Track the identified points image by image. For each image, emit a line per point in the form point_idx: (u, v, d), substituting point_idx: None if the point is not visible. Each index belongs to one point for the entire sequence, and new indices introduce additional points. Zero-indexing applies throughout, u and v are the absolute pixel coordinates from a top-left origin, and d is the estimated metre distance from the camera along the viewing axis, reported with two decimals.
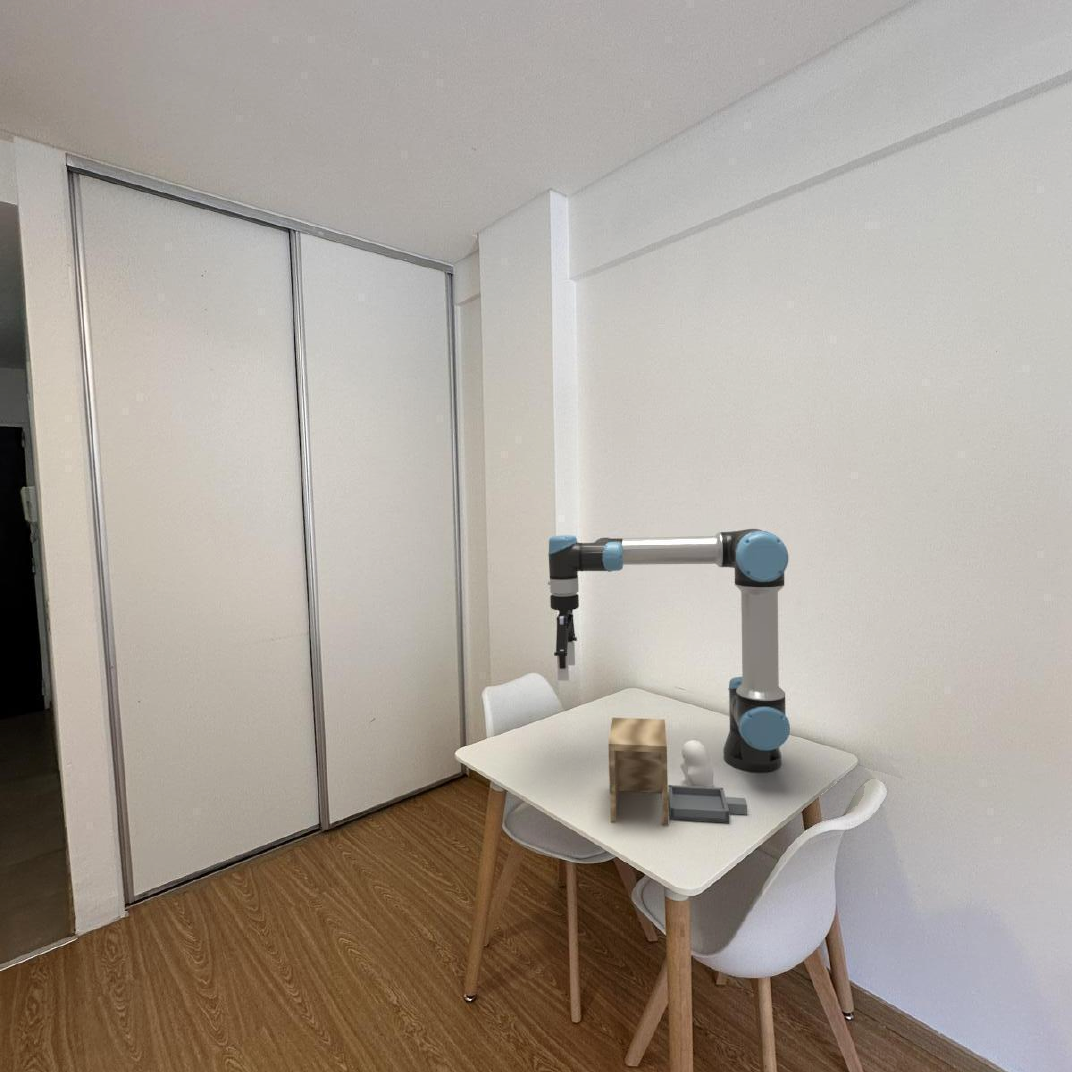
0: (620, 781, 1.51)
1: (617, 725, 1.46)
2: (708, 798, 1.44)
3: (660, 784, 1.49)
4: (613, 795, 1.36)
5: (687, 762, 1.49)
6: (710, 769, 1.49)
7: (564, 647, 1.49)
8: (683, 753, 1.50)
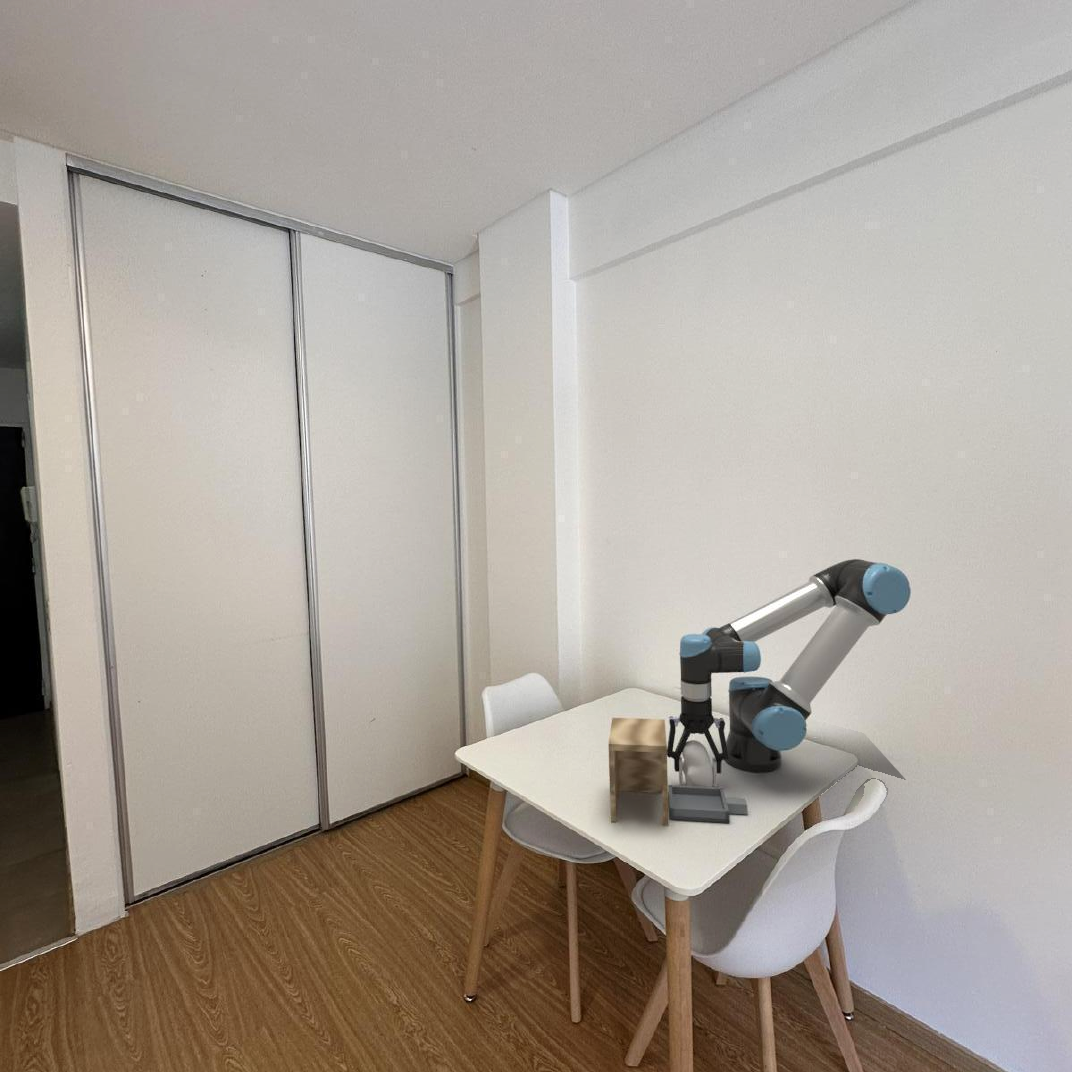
0: (620, 781, 1.51)
1: (617, 725, 1.46)
2: (708, 798, 1.44)
3: (660, 784, 1.49)
4: (613, 795, 1.36)
5: (687, 762, 1.49)
6: (710, 769, 1.49)
7: (667, 749, 1.51)
8: (683, 753, 1.50)
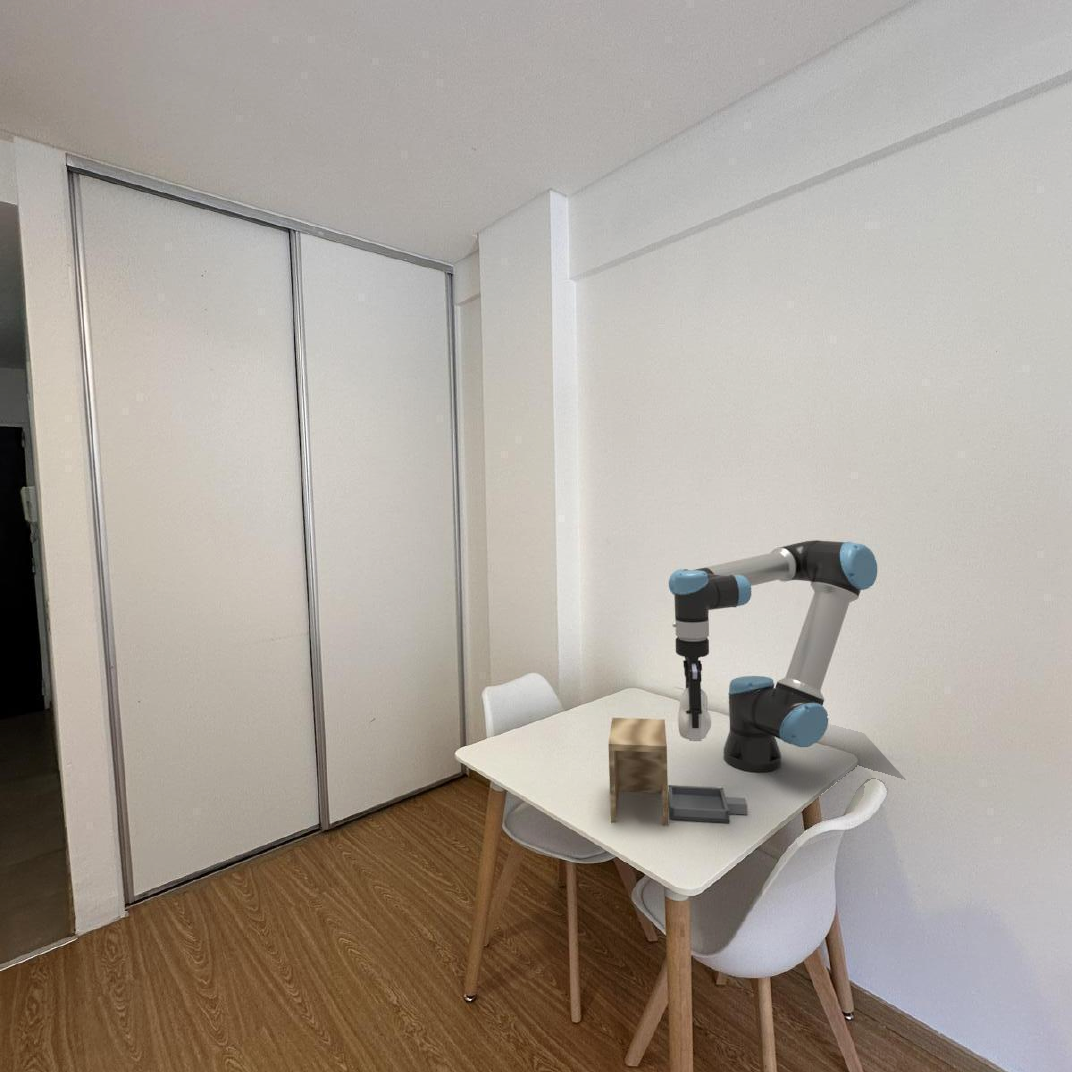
0: (620, 781, 1.51)
1: (617, 725, 1.46)
2: (708, 798, 1.44)
3: (660, 784, 1.49)
4: (613, 795, 1.36)
5: (703, 709, 1.36)
6: None
7: (700, 706, 1.32)
8: None
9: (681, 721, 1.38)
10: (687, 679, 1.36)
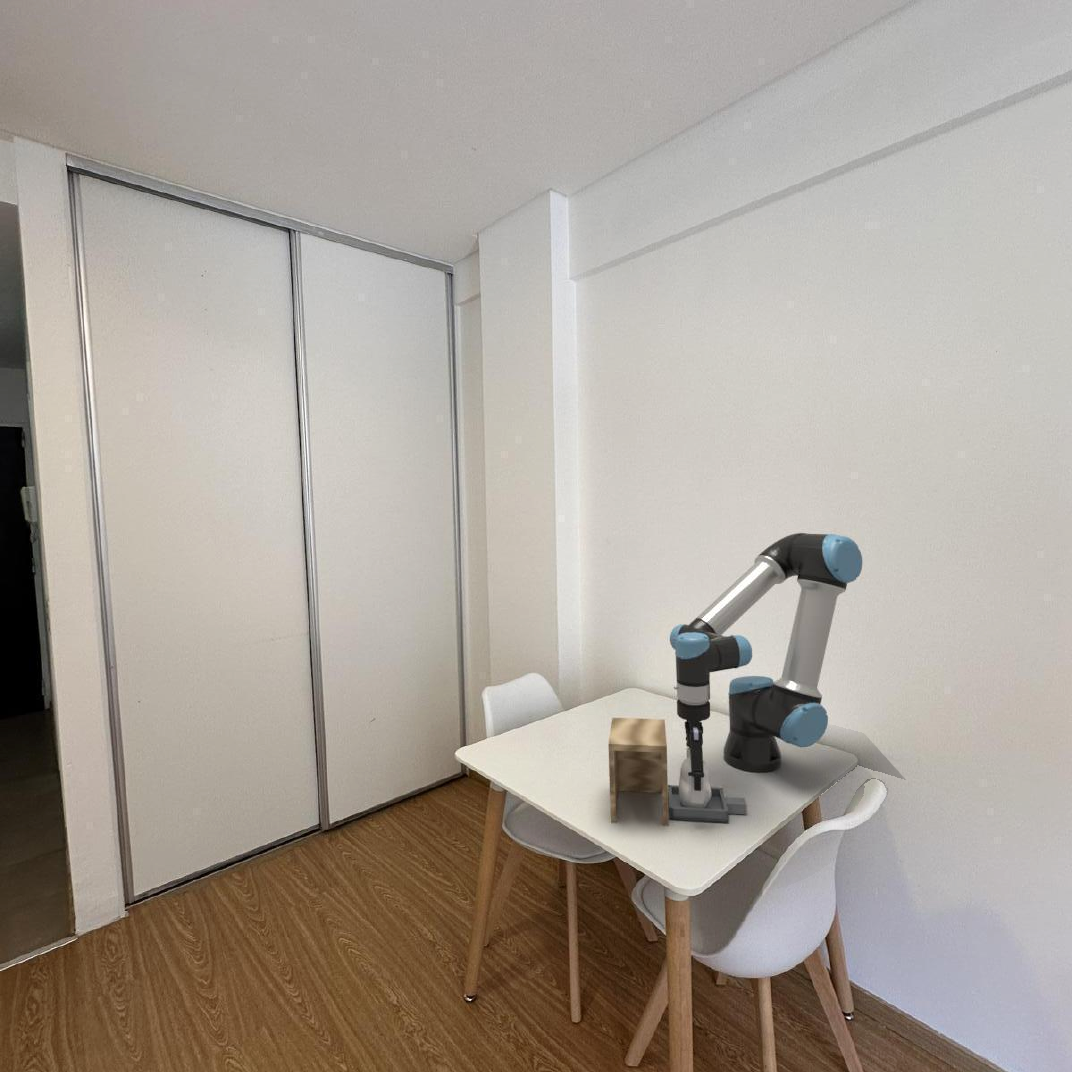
0: (620, 781, 1.51)
1: (617, 725, 1.46)
2: None
3: (660, 784, 1.49)
4: (613, 795, 1.36)
5: (703, 780, 1.38)
6: None
7: (702, 768, 1.31)
8: None
9: (681, 791, 1.39)
10: (688, 741, 1.36)
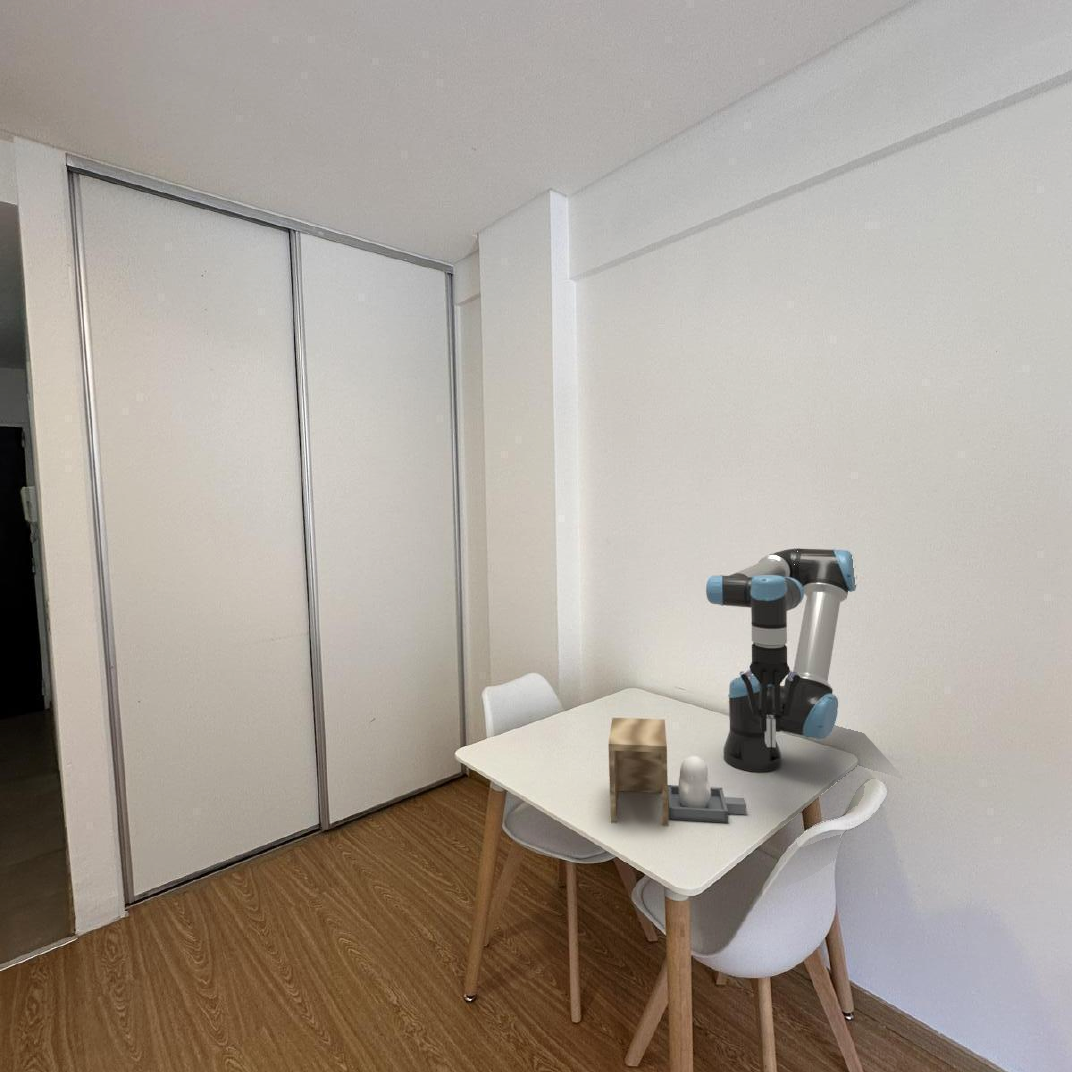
0: (620, 781, 1.51)
1: (617, 725, 1.46)
2: None
3: (660, 784, 1.49)
4: (613, 795, 1.36)
5: (703, 780, 1.38)
6: None
7: (751, 707, 1.36)
8: (699, 774, 1.37)
9: (681, 791, 1.39)
10: (759, 682, 1.38)
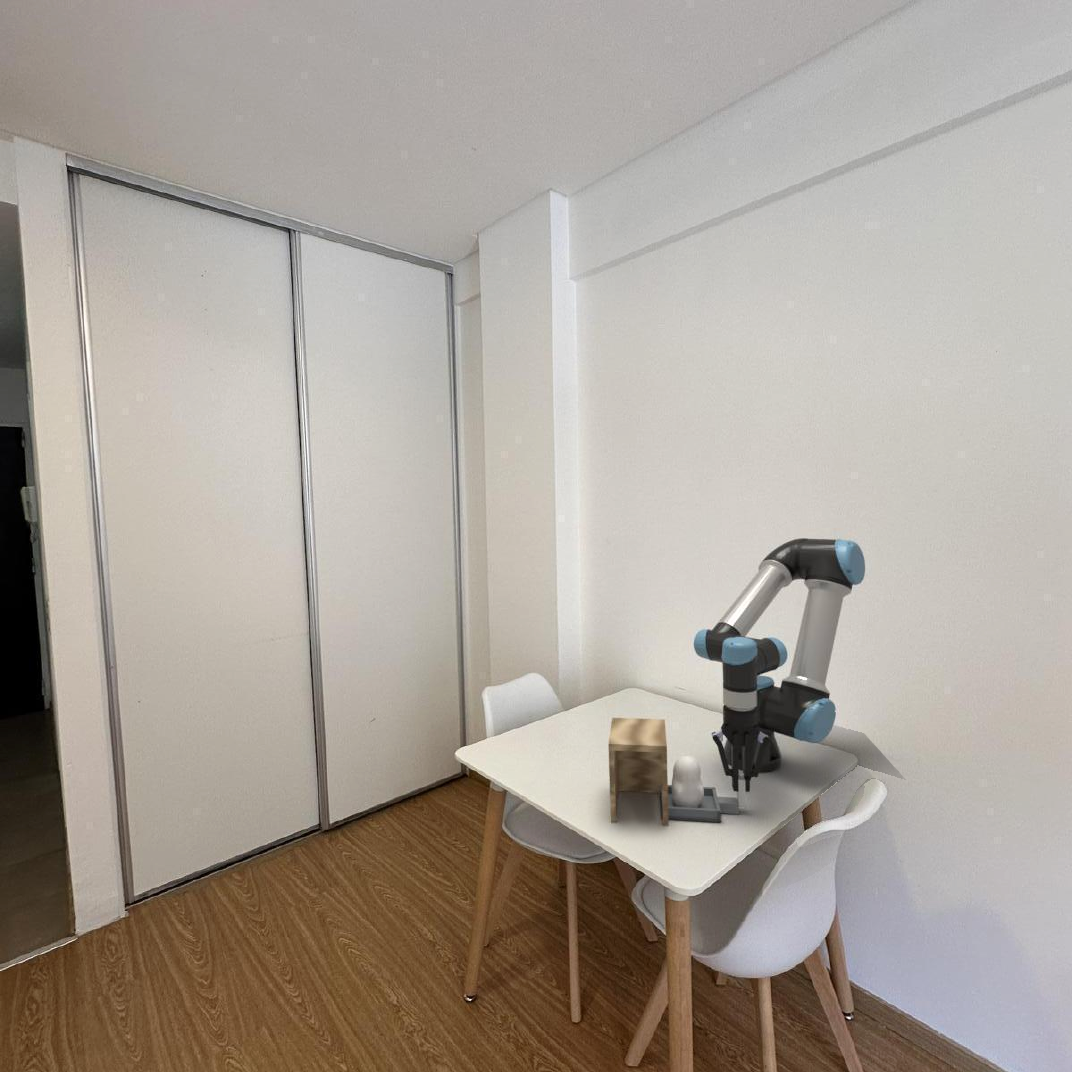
0: (620, 781, 1.51)
1: (617, 725, 1.46)
2: None
3: (660, 784, 1.49)
4: (613, 795, 1.36)
5: (696, 780, 1.38)
6: None
7: None
8: (692, 773, 1.37)
9: (674, 790, 1.39)
10: None
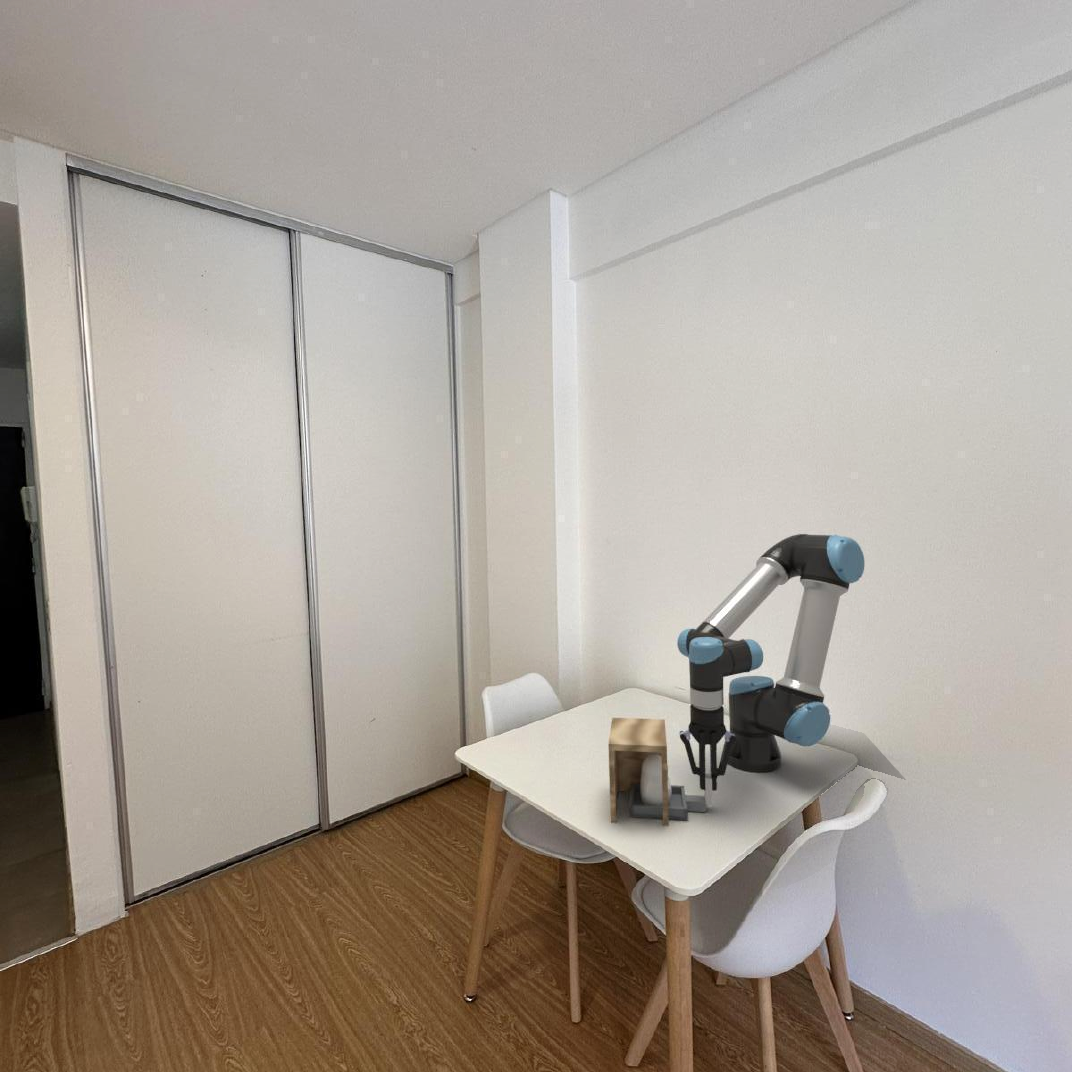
0: (620, 781, 1.51)
1: (617, 725, 1.46)
2: None
3: None
4: (613, 795, 1.36)
5: None
6: None
7: None
8: (660, 772, 1.38)
9: (642, 789, 1.41)
10: None
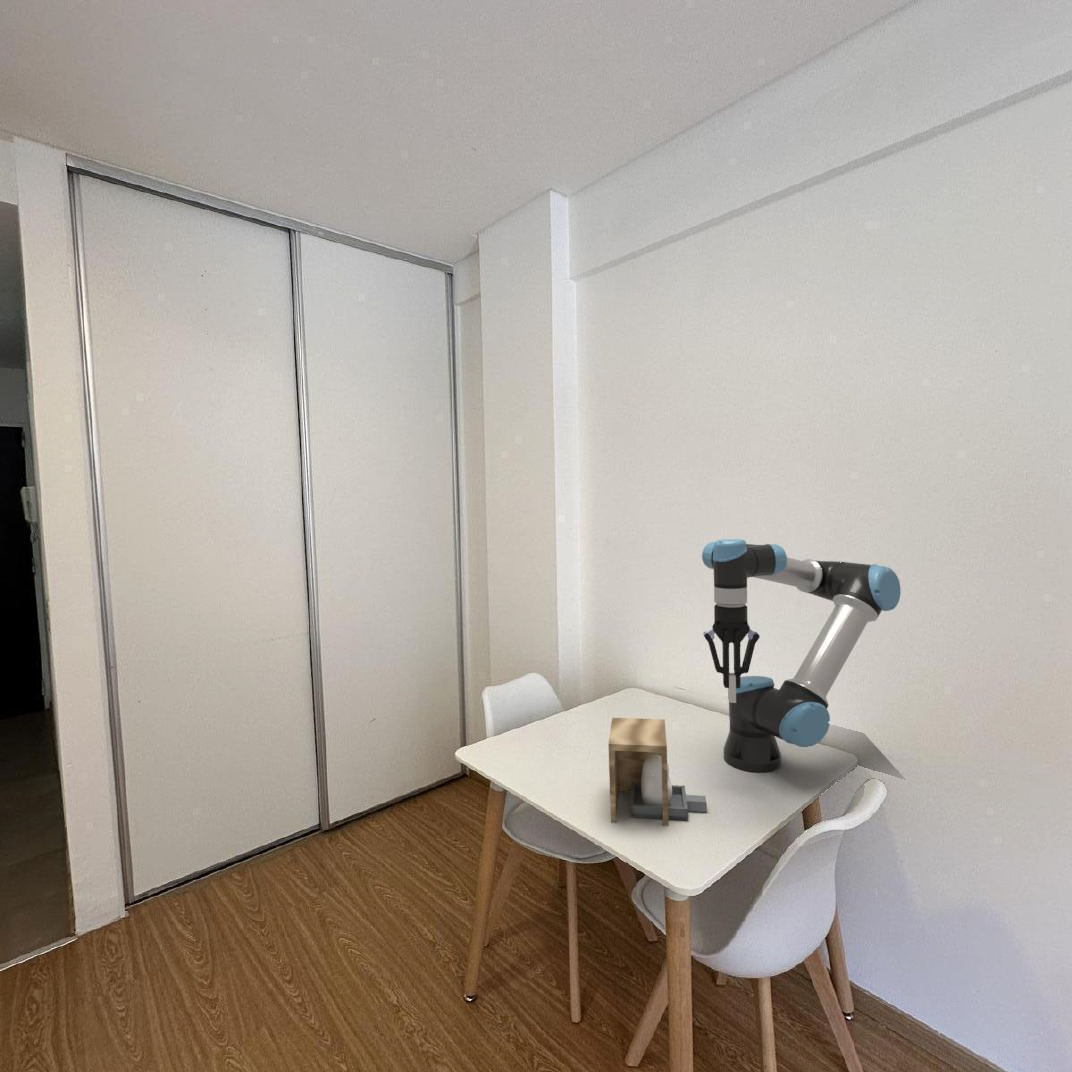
0: (620, 781, 1.51)
1: (617, 725, 1.46)
2: None
3: None
4: (613, 795, 1.36)
5: None
6: None
7: None
8: (660, 772, 1.38)
9: (642, 789, 1.41)
10: (722, 641, 1.44)
